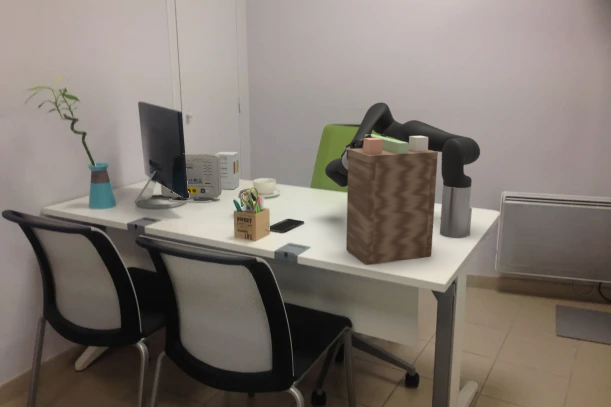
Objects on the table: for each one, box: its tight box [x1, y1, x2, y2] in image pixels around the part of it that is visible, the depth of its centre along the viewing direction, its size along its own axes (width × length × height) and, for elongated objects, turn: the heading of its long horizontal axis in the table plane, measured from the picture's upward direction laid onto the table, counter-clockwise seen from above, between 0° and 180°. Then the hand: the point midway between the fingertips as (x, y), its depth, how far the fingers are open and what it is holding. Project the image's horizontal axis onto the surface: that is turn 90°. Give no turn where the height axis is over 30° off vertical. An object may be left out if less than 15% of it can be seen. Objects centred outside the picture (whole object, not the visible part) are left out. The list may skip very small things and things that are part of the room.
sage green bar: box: [365, 133, 409, 154], centre depth 161 cm, size 3×22×3 cm, turn 20°
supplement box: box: [216, 151, 240, 190], centre depth 254 cm, size 10×9×17 cm
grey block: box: [409, 136, 428, 151], centre depth 157 cm, size 4×4×4 cm
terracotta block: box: [363, 138, 383, 154], centre depth 152 cm, size 4×4×4 cm
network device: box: [160, 153, 222, 204], centre depth 229 cm, size 26×9×20 cm, turn 84°
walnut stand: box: [345, 148, 439, 266], centre depth 161 cm, size 22×14×32 cm, turn 110°
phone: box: [269, 218, 305, 234], centre depth 192 cm, size 8×1×15 cm
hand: (377, 137), depth 165 cm, fingers open, 4 cm apart
